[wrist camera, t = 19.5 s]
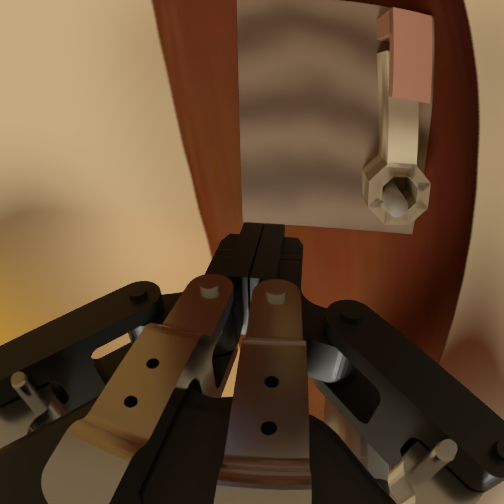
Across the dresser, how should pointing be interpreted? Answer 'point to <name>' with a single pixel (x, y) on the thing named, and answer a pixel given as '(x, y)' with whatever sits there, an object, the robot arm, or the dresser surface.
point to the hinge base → (314, 113)
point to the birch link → (395, 153)
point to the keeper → (408, 53)
